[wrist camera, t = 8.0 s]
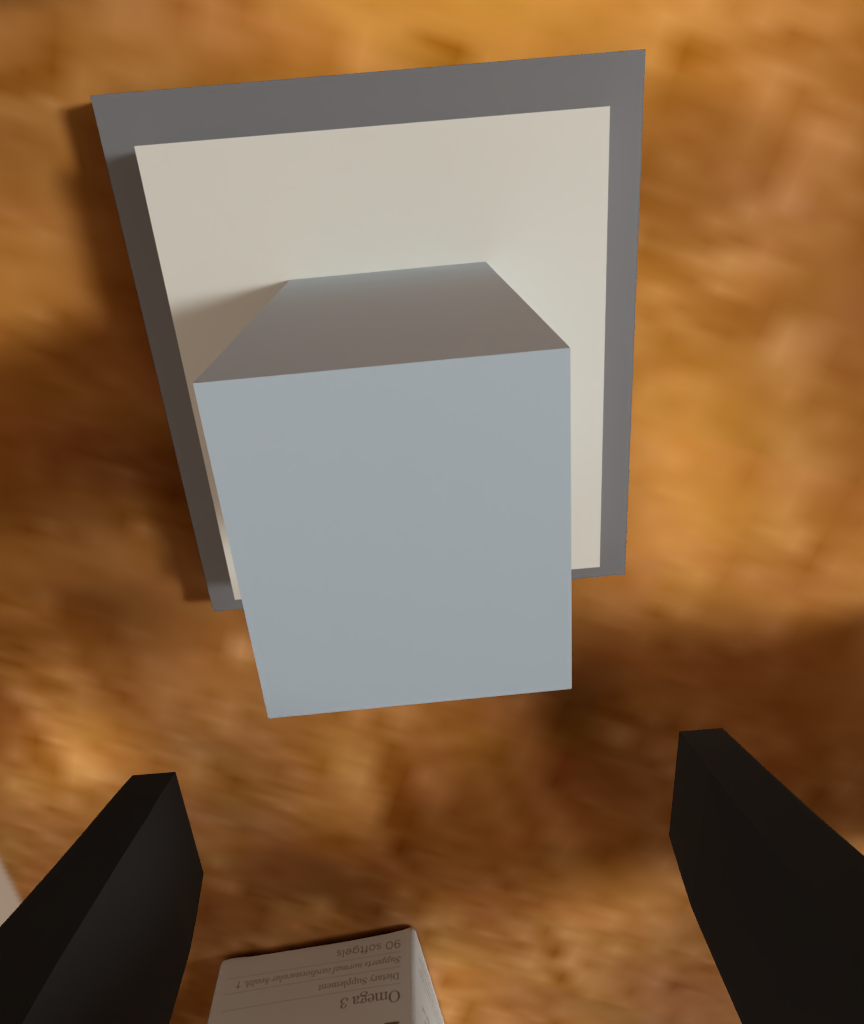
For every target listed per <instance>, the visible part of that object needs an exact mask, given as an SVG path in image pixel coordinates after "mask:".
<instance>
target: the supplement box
mask: <svg viewBox="0 0 864 1024" xmlns="http://www.w3.org/2000/svg"><path fill="white" fill-rule="evenodd" d="M207 1024H445V1023H444V1021H443V1017H442V1014H441V1011H440V1008H439V1004H438V1000H437V997H436V994H435V992H434V988H433V985H432V981H431V978H430V975H429V972H428V969H427V965H426V962H425V959H424V956H423V953H422V949H421V946H420V943H419V940H418V937H417V933H416V931H415V929H414V928H412V927H410V928H407V929H404V930H401V931H397V932H393V933H388V934H384V935H379V936H373V937H368V938H362V939H357V940H352V941H346V942H340V943H335V944H328V945H322V946H316V947H309V948H303V949H297V950H290V951H284V952H278V953H272V954H265V955H258V956H251V957H238V958H231V959H228V960H224V961H223V962H222V964H221V967H220V970H219V974H218V978H217V983H216V987H215V992H214V996H213V1001H212V1005H211V1010H210V1014H209V1019H208V1023H207Z"/></svg>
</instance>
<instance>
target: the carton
mask: <svg viewBox="0 0 864 1024" xmlns="http://www.w3.org/2000/svg"><path fill="white" fill-rule="evenodd" d="M193 386H194V391H195V395H196V400H197V404H198V409H199V413H200V417H201V422H202V426H203V431H204V435H205V440H206V444H207V448H208V453H209V457H210V462H211V466H212V471H213V475H214V479H215V484H216V488H217V493H218V497H219V501H220V506H221V510H222V515H223V519H224V524H225V528H226V532H227V537H228V541H229V546H230V550H231V555H232V559H233V563H234V568H235V572H236V577H237V581H238V586H239V590H240V594H241V599H242V603H243V608H244V612H245V617H246V621H247V625H248V630H249V634H250V639H251V643H252V647H253V652H254V656H255V661H256V665H257V670H258V674H259V678H260V683H261V687H262V692H263V696H264V701H265V705H266V709H267V714H268V718H278V717H288V716H298V715H308V714H319V713H329V712H339V711H349V710H360V709H370V708H380V707H390V706H401V705H411V704H421V703H431V702H441V701H452V700H462V699H472V698H482V697H493V696H503V695H513V694H523V693H534V692H544V691H554V690H564V689H572V599H571V375H570V347H569V346H568V345H567V344H566V343H565V342H564V341H563V340H562V339H561V338H560V337H559V336H558V335H557V334H556V333H555V332H554V331H553V330H552V329H551V328H550V327H549V325H548V324H547V323H546V322H545V321H544V320H543V319H542V318H541V317H540V316H539V315H538V314H537V313H536V312H535V311H534V310H533V309H532V308H531V307H530V306H529V305H528V304H527V303H526V302H525V301H524V300H523V299H522V298H521V297H520V296H519V295H518V294H517V293H516V292H515V291H514V290H513V289H512V288H511V287H510V286H509V285H508V284H507V283H506V282H505V281H504V280H503V279H502V278H501V277H500V276H499V275H498V274H497V273H496V272H495V271H494V270H493V269H492V268H491V267H490V265H489V264H488V263H487V262H486V261H485V262H475V263H464V264H453V265H443V266H432V267H421V268H411V269H400V270H389V271H379V272H368V273H357V274H347V275H336V276H325V277H315V278H304V279H293V280H289V281H288V282H287V283H286V284H285V286H284V287H283V288H282V289H281V290H280V291H279V292H278V293H277V294H276V295H275V296H274V297H273V298H272V299H271V300H270V302H269V303H268V304H267V305H266V306H265V307H264V308H263V309H262V310H261V311H260V312H259V313H258V314H257V315H256V316H255V318H254V319H253V320H252V321H251V322H250V323H249V324H248V325H247V326H246V327H245V328H244V329H243V330H242V331H241V332H240V334H239V335H238V336H237V337H236V338H235V339H234V340H233V341H232V342H231V343H230V344H229V345H228V346H227V347H226V349H225V350H224V351H223V352H222V353H221V354H220V355H219V356H218V357H217V358H216V359H215V360H214V361H213V362H212V363H211V365H210V366H209V367H208V368H207V369H206V370H205V371H204V372H203V373H202V374H201V375H200V376H199V377H198V378H197V379H196V381H195V382H194V383H193Z"/></svg>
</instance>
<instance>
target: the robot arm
mask: <svg viewBox="0 0 864 1024" xmlns="http://www.w3.org/2000/svg"><path fill="white" fill-rule="evenodd" d="M669 836H670V840H671V843H672V846H673V850H674V853H675V856H676V860H677V863H678V866H679V870H680V873H681V876H682V879H683V882H684V885H685V888H686V892H687V895H688V898H689V901H690V904H691V907H692V910H693V912H694V914H695V917H696V919H697V921H698V924H699V926H700V928H701V931H702V933H703V935H704V938H705V940H706V942H707V945H708V947H709V949H710V952H711V954H712V956H713V958H714V961H715V963H716V965H717V968H718V970H719V972H720V975H721V977H722V979H723V981H724V984H725V986H726V988H727V990H728V993H729V995H730V997H731V1000H732V1002H733V1004H734V1006H735V1009H736V1011H737V1013H738V1015H739V1018H740V1020H741V1022H742V1024H864V856H863V855H862V854H861V853H860V852H859V851H858V850H856V849H855V848H854V847H853V846H852V845H851V844H849V843H848V842H847V841H846V840H845V839H844V838H843V837H841V836H840V835H839V834H838V833H837V832H836V831H834V830H833V829H832V828H831V827H830V826H829V825H828V824H826V823H825V822H824V821H823V820H822V819H821V818H819V817H818V816H817V815H816V814H815V813H814V812H813V811H812V810H811V809H809V808H808V807H807V806H806V805H805V804H804V803H803V802H802V801H801V800H799V799H798V798H797V797H796V796H795V795H794V794H793V793H792V792H791V791H790V790H788V789H787V788H786V787H785V786H784V785H783V784H782V783H781V782H780V781H779V780H778V779H776V778H775V777H774V776H773V775H772V774H771V773H770V772H769V771H768V770H767V769H766V768H765V767H764V766H762V765H761V764H760V763H759V762H758V761H757V760H756V759H755V758H754V757H753V756H752V755H751V754H750V753H748V752H747V751H746V750H745V749H744V748H743V747H742V746H741V745H740V744H739V743H738V742H737V741H735V740H734V739H733V738H732V737H731V736H730V735H729V734H728V733H727V732H726V731H724V730H723V729H722V728H718V729H706V730H693V731H681V732H679V741H678V751H677V761H676V772H675V782H674V792H673V802H672V812H671V822H670V832H669ZM202 879H203V870H202V866H201V863H200V859H199V855H198V852H197V848H196V845H195V841H194V837H193V834H192V830H191V827H190V823H189V819H188V816H187V812H186V809H185V805H184V801H183V798H182V794H181V791H180V787H179V783H178V780H177V776H176V773H175V772H169V773H157V774H144V775H133V776H132V777H131V778H130V779H129V780H128V781H127V782H126V783H125V784H124V786H123V787H122V788H121V789H120V790H119V791H118V792H117V794H116V795H115V796H114V797H113V798H112V799H111V800H110V802H109V803H108V804H107V805H106V806H105V807H104V809H103V810H102V811H101V812H100V813H99V815H98V816H97V817H96V818H95V819H94V820H93V822H92V823H91V824H90V825H89V826H88V828H87V829H86V830H85V831H84V832H83V833H82V835H81V836H80V837H79V838H78V839H77V840H76V842H75V843H74V844H73V845H72V846H71V847H70V849H69V850H68V851H67V852H66V853H65V854H64V856H63V857H62V858H61V859H60V860H59V861H58V863H57V864H56V865H55V866H54V867H53V868H52V869H51V871H50V872H49V873H48V874H47V875H46V876H45V877H44V878H43V880H42V881H41V882H40V883H39V884H38V885H37V886H36V887H35V889H34V890H33V891H32V892H31V893H30V894H29V895H28V897H27V898H26V899H25V900H24V901H23V902H22V903H21V904H20V906H19V907H18V908H17V909H16V910H15V911H14V912H13V914H11V916H10V917H9V918H8V919H7V920H6V921H5V922H4V923H3V924H2V925H1V927H0V1024H169V1021H170V1018H171V1015H172V1011H173V1008H174V1004H175V1001H176V997H177V994H178V990H179V987H180V983H181V980H182V977H183V973H184V970H185V966H186V962H187V959H188V955H189V952H190V948H191V942H192V937H193V932H194V926H195V921H196V916H197V910H198V904H199V897H200V891H201V885H202Z"/></svg>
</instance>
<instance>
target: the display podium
mask: <svg viewBox="0 0 864 1024" xmlns="http://www.w3.org/2000/svg"><path fill="white" fill-rule="evenodd" d="M644 73H645V49H642V50H630V51H618V52H606V53H594V54H582V55H570V56H558V57H546V58H534V59H522V60H510V61H498V62H486V63H474V64H462V65H450V66H439V67H427V68H415V69H403V70H391V71H379V72H367V73H355V74H343V75H331V76H319V77H307V78H295V79H283V80H271V81H259V82H247V83H235V84H223V85H211V86H199V87H187V88H175V89H163V90H151V91H139V92H127V93H115V94H103V95H91V96H90V97H91V101H92V105H93V109H94V114H95V118H96V122H97V126H98V130H99V135H100V139H101V143H102V147H103V151H104V156H105V160H106V164H107V168H108V172H109V177H110V181H111V185H112V189H113V193H114V197H115V202H116V206H117V210H118V214H119V218H120V223H121V227H122V231H123V235H124V239H125V244H126V248H127V252H128V256H129V260H130V265H131V269H132V273H133V277H134V281H135V286H136V290H137V294H138V298H139V302H140V307H141V311H142V315H143V319H144V323H145V327H146V332H147V336H148V340H149V344H150V348H151V353H152V357H153V361H154V365H155V369H156V374H157V378H158V382H159V386H160V390H161V395H162V399H163V403H164V407H165V411H166V416H167V420H168V424H169V428H170V432H171V436H172V441H173V445H174V449H175V453H176V457H177V462H178V466H179V470H180V474H181V478H182V483H183V487H184V491H185V495H186V499H187V504H188V508H189V512H190V516H191V520H192V525H193V529H194V533H195V537H196V541H197V545H198V550H199V554H200V558H201V562H202V566H203V571H204V575H205V579H206V583H207V587H208V592H209V596H210V600H211V604H212V608H213V611H224V610H235V609H244V608H243V603H242V599H241V594H240V590H239V586H238V581H237V577H236V572H235V568H234V563H233V559H232V555H231V550H230V546H229V541H228V537H227V532H226V528H225V524H224V519H223V515H222V510H221V506H220V501H219V497H218V493H217V488H216V484H215V479H214V475H213V471H212V466H211V462H210V457H209V453H208V448H207V444H206V440H205V435H204V431H203V426H202V422H201V417H200V413H199V409H198V404H197V400H196V395H195V391H194V386H193V383H194V382H195V381H196V379H197V378H198V377H199V376H200V375H201V374H202V373H203V372H204V371H205V370H206V369H207V368H208V367H209V366H210V365H211V363H212V362H213V361H214V360H215V359H216V358H217V357H218V356H219V355H220V354H221V353H222V352H223V351H224V350H225V349H226V347H227V346H228V345H229V344H230V343H231V342H232V341H233V340H234V339H235V338H236V337H237V336H238V335H239V334H240V332H241V331H242V330H243V329H244V328H245V327H246V326H247V325H248V324H249V323H250V322H251V321H252V320H253V319H254V318H255V316H256V315H257V314H258V313H259V312H260V311H261V310H262V309H263V308H264V307H265V306H266V305H267V304H268V303H269V302H270V300H271V299H272V298H273V297H274V296H275V295H276V294H277V293H278V292H279V291H280V290H281V289H282V288H283V287H284V286H285V284H286V283H287V282H288V281H289V280H293V279H304V278H315V277H325V276H336V275H347V274H357V273H368V272H379V271H389V270H400V269H411V268H421V267H432V266H443V265H453V264H464V263H475V262H485V261H486V262H487V263H488V264H489V265H490V267H491V268H492V269H493V270H494V271H495V272H496V273H497V274H498V275H499V276H500V277H501V278H502V279H503V280H504V281H505V282H506V283H507V284H508V285H509V286H510V287H511V288H512V289H513V290H514V291H515V292H516V293H517V294H518V295H519V296H520V297H521V298H522V299H523V300H524V301H525V302H526V303H527V304H528V305H529V306H530V307H531V308H532V309H533V310H534V311H535V312H536V313H537V314H538V315H539V316H540V317H541V318H542V319H543V320H544V321H545V322H546V323H547V324H548V325H549V327H550V328H551V329H552V330H553V331H554V332H555V333H556V334H557V335H558V336H559V337H560V338H561V339H562V340H563V341H564V342H565V343H566V344H567V345H568V346H569V347H570V375H571V579H578V578H589V577H600V576H611V575H622V574H625V560H626V534H627V509H628V483H629V457H630V432H631V406H632V381H633V355H634V329H635V304H636V278H637V253H638V227H639V201H640V176H641V150H642V125H643V99H644Z"/></svg>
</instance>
